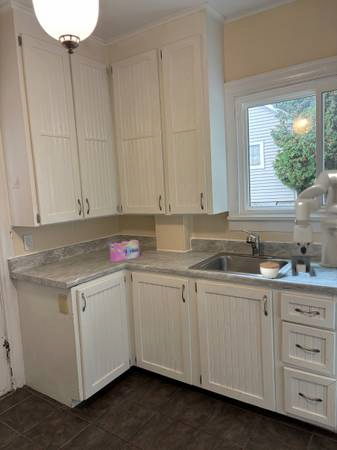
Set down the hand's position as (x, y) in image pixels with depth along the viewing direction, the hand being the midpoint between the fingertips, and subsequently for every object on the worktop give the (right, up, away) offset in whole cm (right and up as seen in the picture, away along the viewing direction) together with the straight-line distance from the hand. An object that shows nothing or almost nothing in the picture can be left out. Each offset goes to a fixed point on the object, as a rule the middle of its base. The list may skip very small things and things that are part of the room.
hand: (303, 253), depth 192 cm
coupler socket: (+2, -12, +7) cm, 14 cm away
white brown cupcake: (-19, -14, +1) cm, 24 cm away
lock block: (+3, -12, +11) cm, 16 cm away
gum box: (-112, -10, +68) cm, 131 cm away
